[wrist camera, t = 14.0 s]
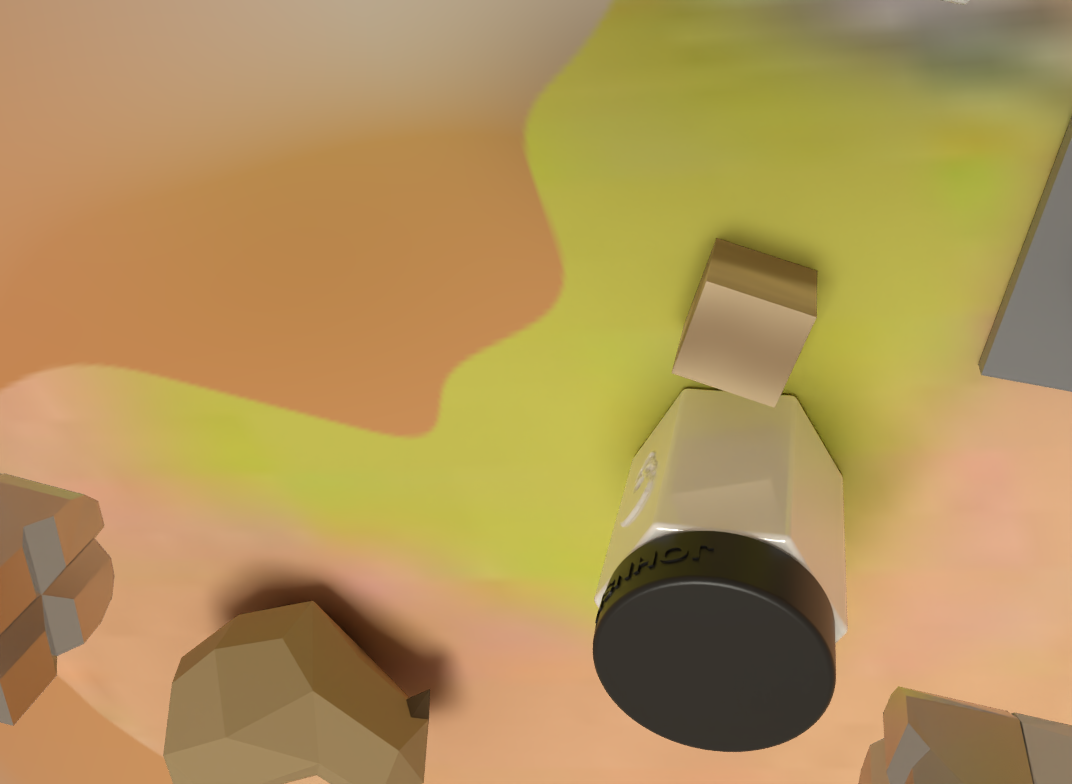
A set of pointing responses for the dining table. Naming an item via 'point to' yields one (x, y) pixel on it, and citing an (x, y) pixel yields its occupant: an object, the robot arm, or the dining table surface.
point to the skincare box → (958, 1)
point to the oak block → (747, 323)
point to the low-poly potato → (291, 707)
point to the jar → (725, 576)
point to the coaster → (1039, 293)
